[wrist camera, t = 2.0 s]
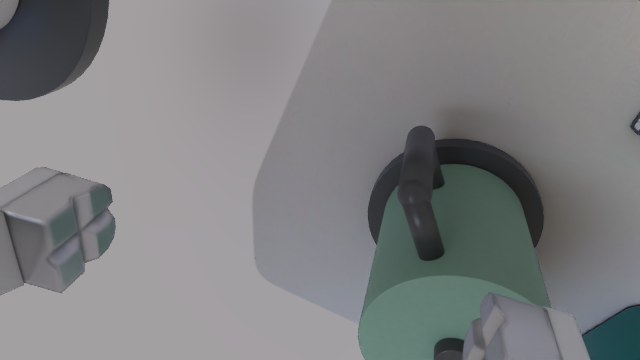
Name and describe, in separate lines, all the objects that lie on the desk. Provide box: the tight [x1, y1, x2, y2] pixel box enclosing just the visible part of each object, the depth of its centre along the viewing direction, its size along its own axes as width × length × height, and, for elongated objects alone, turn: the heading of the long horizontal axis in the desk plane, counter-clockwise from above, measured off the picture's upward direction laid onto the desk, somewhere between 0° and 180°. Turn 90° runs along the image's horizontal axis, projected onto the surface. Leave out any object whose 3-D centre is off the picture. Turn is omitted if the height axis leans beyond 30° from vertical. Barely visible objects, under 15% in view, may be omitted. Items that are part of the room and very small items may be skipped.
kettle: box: [358, 126, 551, 360], centre depth 32 cm, size 22×12×15 cm, turn 21°
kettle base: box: [368, 139, 544, 248], centre depth 39 cm, size 15×15×2 cm
